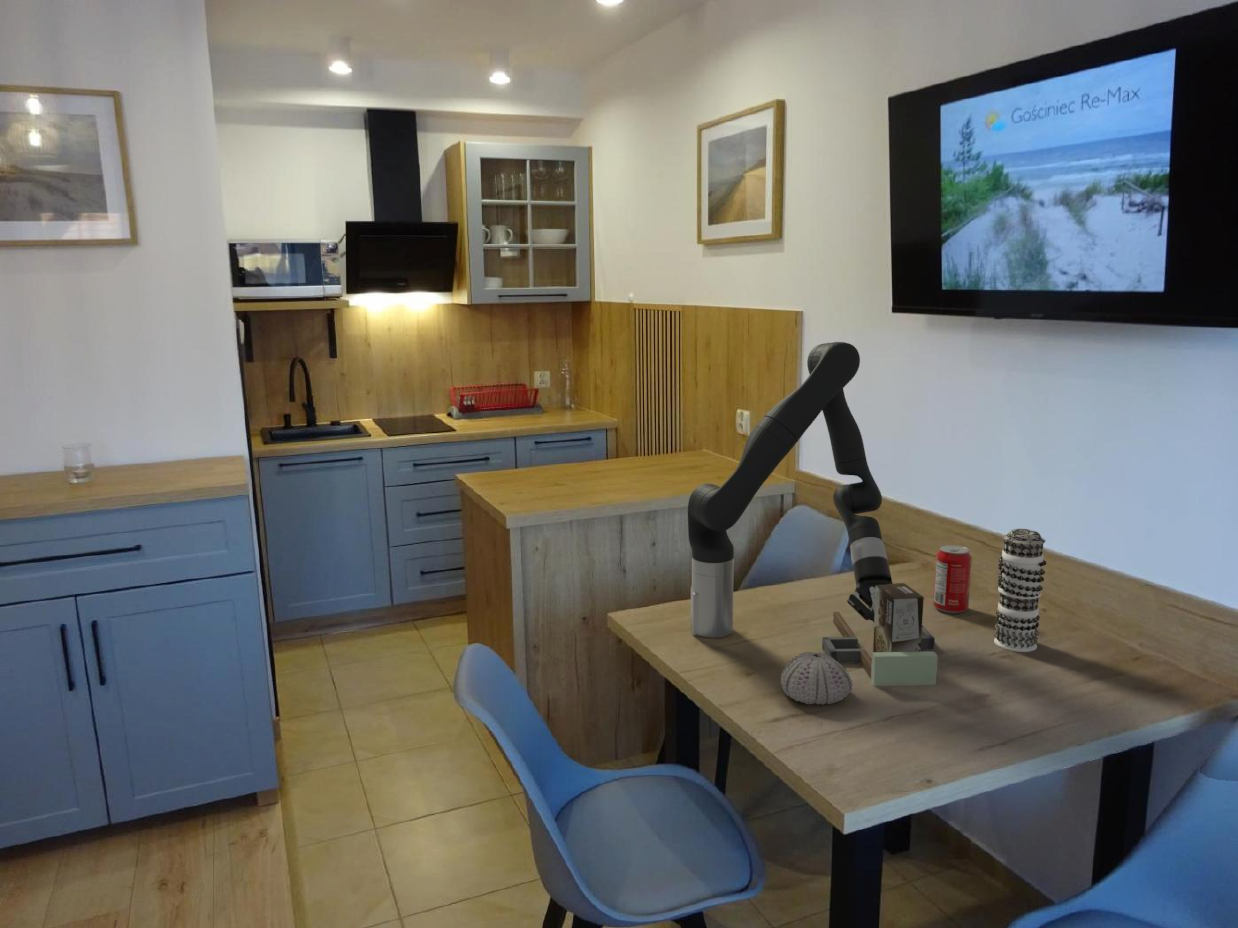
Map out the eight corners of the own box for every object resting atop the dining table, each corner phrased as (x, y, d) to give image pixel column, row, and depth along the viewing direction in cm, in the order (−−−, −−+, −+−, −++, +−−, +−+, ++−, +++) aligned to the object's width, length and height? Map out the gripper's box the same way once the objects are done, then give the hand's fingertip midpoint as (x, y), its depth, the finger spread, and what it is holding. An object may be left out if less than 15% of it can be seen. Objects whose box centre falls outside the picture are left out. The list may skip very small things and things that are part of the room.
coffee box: (920, 674, 175) (925, 597, 172) (889, 676, 174) (893, 598, 171) (900, 655, 184) (904, 581, 181) (871, 657, 183) (874, 583, 180)
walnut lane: (874, 684, 171) (875, 672, 170) (833, 621, 203) (833, 611, 202) (933, 683, 171) (934, 671, 171) (882, 621, 203) (883, 610, 202)
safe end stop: (873, 685, 170) (875, 656, 169) (870, 681, 172) (872, 652, 171) (935, 684, 171) (937, 655, 169) (932, 680, 172) (933, 651, 171)
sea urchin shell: (766, 696, 167) (767, 657, 165) (801, 673, 177) (802, 635, 175) (830, 718, 158) (832, 676, 157) (863, 692, 168) (865, 652, 167)
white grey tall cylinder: (1017, 633, 195) (1026, 524, 190) (1048, 649, 186) (1059, 535, 181) (982, 638, 192) (990, 528, 187) (1013, 655, 184) (1022, 539, 179)
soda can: (928, 611, 209) (932, 550, 206) (938, 601, 215) (941, 542, 212) (963, 617, 204) (967, 555, 202) (971, 607, 211) (976, 547, 208)
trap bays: (830, 662, 181) (831, 651, 180) (815, 637, 194) (816, 626, 194) (944, 661, 181) (945, 649, 181) (921, 635, 194) (922, 625, 194)
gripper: (843, 555, 190) (857, 631, 180) (904, 554, 190) (921, 629, 180) (836, 570, 196) (849, 644, 186) (895, 569, 196) (911, 643, 187)
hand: (884, 637), depth 183 cm, fingers closed
